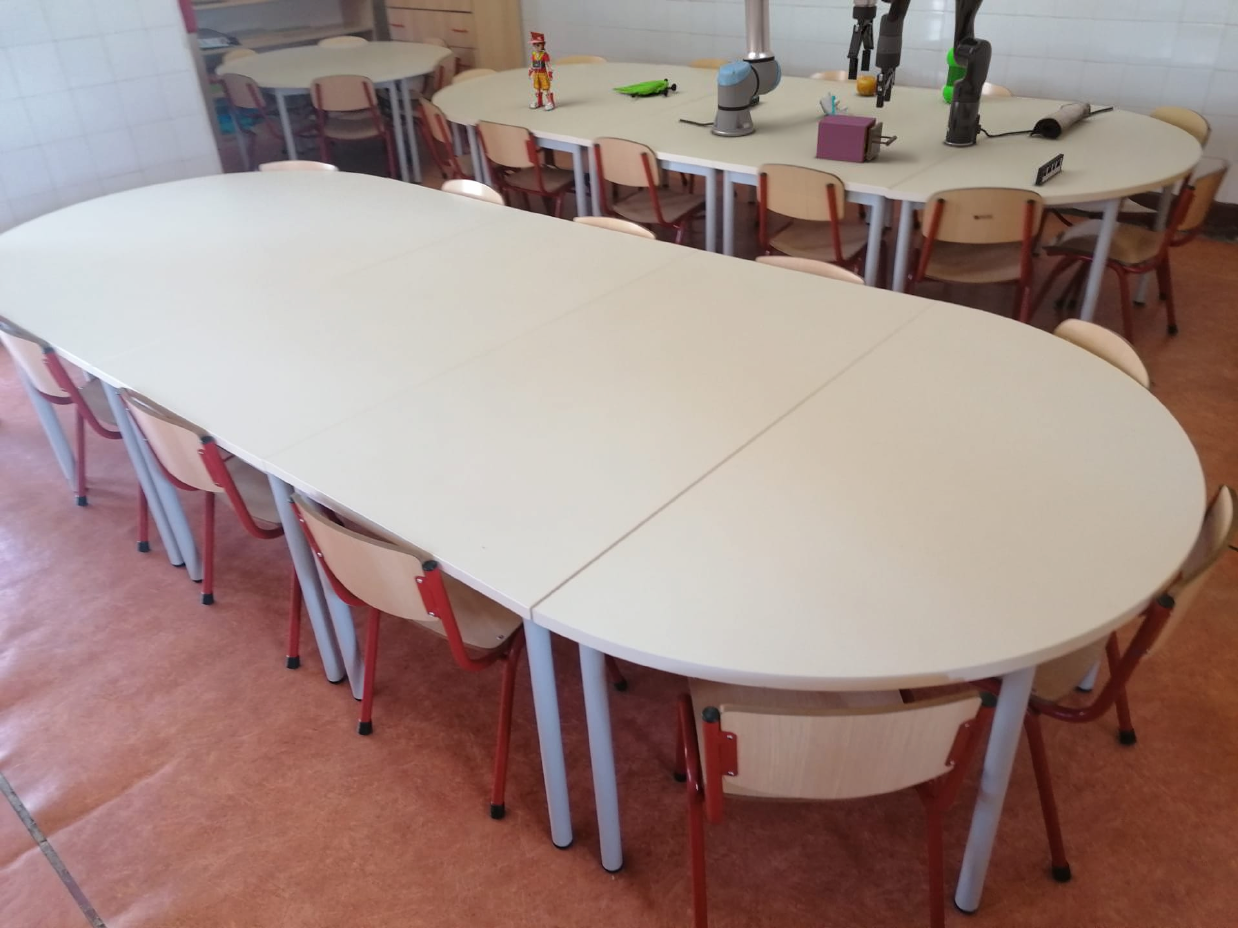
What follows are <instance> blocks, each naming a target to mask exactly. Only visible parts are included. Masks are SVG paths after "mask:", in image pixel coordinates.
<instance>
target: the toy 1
mask: <svg viewBox="0 0 1238 928" xmlns="http://www.w3.org/2000/svg"><path fill="white" fill-rule="evenodd" d="M529 33H530V35H531V36H528V37H527V38H528V39H529V40H528V41H527V43H529V44H530V43H531V44H532V48H533V50H534V51H533V52H532V55H531V58H530V59H531V63H530V66H528V74H527V75H528V76H527V77H528V79H529V80H531V75H532V74H533V84H532V85H533V86H532V87H533V88H534V89H535V90H536V92H534V95H535V97H536V100H535V101H533V102H531V105H530V108H531V109H535V108H538V107H542V106H544V101H543V100H544V99H543V95H544V92H546V94H545V97H546V99H547V103H546V104H545V106H544V110H546V111H549V110H553V109H554V107H555V106H556V105H555V99H554V92H551V91H550V90H551V86H552V84H551V82H552V81H553V80H554V77H553V73H554V71H555V70H554V69H552V68H551V63H550V61H551V59H550V58H551V57H550V54H549V53H548V52H547V50H546V48H545V46H546V44H547V41H545V35H544V33H543V32H542V33H539V32H535V31H529Z"/></svg>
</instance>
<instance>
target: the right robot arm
mask: <svg viewBox="0 0 1238 928" xmlns="http://www.w3.org/2000/svg"><path fill="white" fill-rule="evenodd" d="M911 1H912V0H880V2H883V3H885V4H888V5H890V6H889V10H888V12H886V13H884V14H882V15H881V18H880V22H879V31H878V33H879V34H878V38H877V44H876V52H875V61H874V62H875V63H874V66H875V67H876V68H878V69H880V73H878V74H877V75H876V80H877V81H876V90H875V93H874V95H876V103H875V107H876V108H877V109H883V108H884V106H885V102H886V103H889V102H890V101H891V98H892V97H891V96H892V89H893V88H894V86H895V80H896V71H897V68H899V66H901V58H902V48H903V33H904V23H905V19H906V16H907V13H908V10H909V7H910V5H911ZM954 2H955V3H954V33H953V44H952V45H953V46H952V47H953V58H954V62H955V63H956V65H958V66H960V67H963V68H967V69H966V73H965V76H964V78H963V79H959V80H956V81H955V83H954V86H953V93H952V100H951V103H950V108H949V113H948V119H947V125H946V127H945V131H946V133H945V139H944V144H945V145H947V146H951V147H970V146H972V145H976V144H977V139H978V135H981V132H982V133H984V134H985V136H986V137H988V138H998V137H1004V136H1009V135H1018V134H1028V133H1029V134H1030V133H1031V132H1032V130H1033V129H1029V130H1020V131H1019V130H1018V131H1010V132H1004V133H999V134H989V133H988V132H987V130H986V129H984V128H983V127H982V124H980V120H981V114H979V111H980V105H981V100H982V93H983V88H984V85H985V83H986V81H987V79H988V74H989V69H990V66H991V60H992V55H993V46H992V44H991V42H990V41H989V40H987V39H983V38H978V37H975V22H976V17H977V15H978V12H979V10H980V8H981V6H982V4H983V2H984V0H954ZM1113 109H1114V106H1111V107H1106V108H1101V109H1098V110H1094V111H1091V115H1094V114H1098V113H1101V112H1106V111H1111V110H1113ZM1079 120H1080V119H1078V120H1077V121H1079Z"/></svg>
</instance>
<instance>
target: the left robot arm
mask: <svg viewBox="0 0 1238 928" xmlns="http://www.w3.org/2000/svg"><path fill="white" fill-rule="evenodd" d="M852 4H853V7H852V16H851V17H852V19H854V20H857V22H856V24H853V28H852V35H851V38H850V44H849V49H848V52H847V55H846V59H849V64H848V74H847V75H848V76H847V80H851V81H857V79H858V70H859V69H858V68H859V54H860V51H861V48H862V45H863V49H862V53H861V63H860V71H861V72H870V65H871V57H872V51H874V50H875V42H874V19H876V18H877V12H878V6H877V4H878V0H853V3H852ZM744 16H745V17H744V18H745V20H744V21H745V44H746V52H745V54H744V55H743V57H742V60H738V61H732V62H728V63H724V64H723V65H722V66H720V67H719V68H718V73H717V74H718V75H717V111H716V114H715V118H714V120H713V122H706V123H704V122H703V123H702V122H698V121H697V122H696V121H693V120H688V119H682V118H679V122H681V123H688V124H691V125H692V124H693V125H696V126H700V127H707V126H712V133H713V134H715V135H717V136H721V137H741V136H746V135H750V134H752V133H754V122H753V118H752V115H751V111H750V107H749V98H752V97H755V96H761V95H763V96H764V95H767V94H769V93H772V92H773V91H775V90H776V89H777V87H778V86H779V85H780V82H781V81H782V68H781V65H780V64H779V62H778V60H776V57H775V53H774V52H773V51H772V50H771V31H770V30H771V28H770V0H744Z"/></svg>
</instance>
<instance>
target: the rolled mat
mask: <svg viewBox="0 0 1238 928" xmlns="http://www.w3.org/2000/svg"><path fill="white" fill-rule="evenodd" d="M1091 112H1092V105H1091V104H1090V103H1089V102H1082V101H1080V102H1079V101H1078V102H1073V103H1072V102H1071V103H1065V104H1063V105H1061V106H1060V108H1059V109H1058V110H1056V111H1053V112H1052V113H1050V114H1048V115H1046V116H1044V117H1042V118H1040V119H1039V120H1037V121H1036V123H1035V125H1034V126H1033V128H1032V129H1031V130H1032V132H1029V137H1032V136H1034V135H1041V136H1042V137H1043V138H1046V139H1051V140H1055V139H1056V140H1057V139H1058V138H1059V137H1060V136H1061V135H1063V134H1064V133H1065V132H1066V131H1067V129H1068V128H1070V127H1071V126H1073V124H1075V123H1076V122H1077V121H1079V120H1084V119H1085V120H1086V119H1087V118H1090V117H1091V116H1092V114H1091ZM1078 119H1079V120H1078Z"/></svg>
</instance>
